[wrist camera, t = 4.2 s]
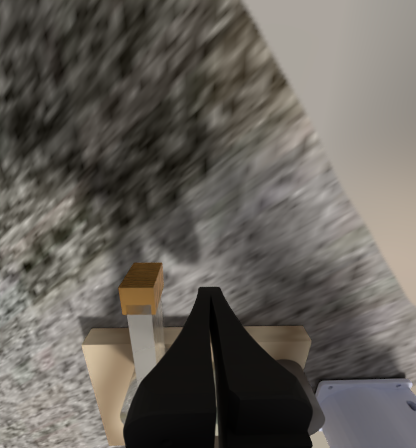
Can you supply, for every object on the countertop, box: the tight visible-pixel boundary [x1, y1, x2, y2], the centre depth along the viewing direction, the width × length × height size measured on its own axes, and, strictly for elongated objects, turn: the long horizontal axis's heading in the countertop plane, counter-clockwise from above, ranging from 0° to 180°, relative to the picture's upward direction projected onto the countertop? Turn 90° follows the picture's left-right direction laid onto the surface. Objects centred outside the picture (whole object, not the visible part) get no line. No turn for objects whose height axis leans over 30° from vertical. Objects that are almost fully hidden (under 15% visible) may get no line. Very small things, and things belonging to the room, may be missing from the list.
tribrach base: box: [82, 326, 325, 448], centre depth 17 cm, size 18×15×5 cm
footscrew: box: [118, 263, 169, 424], centre depth 12 cm, size 4×12×3 cm, turn 179°
